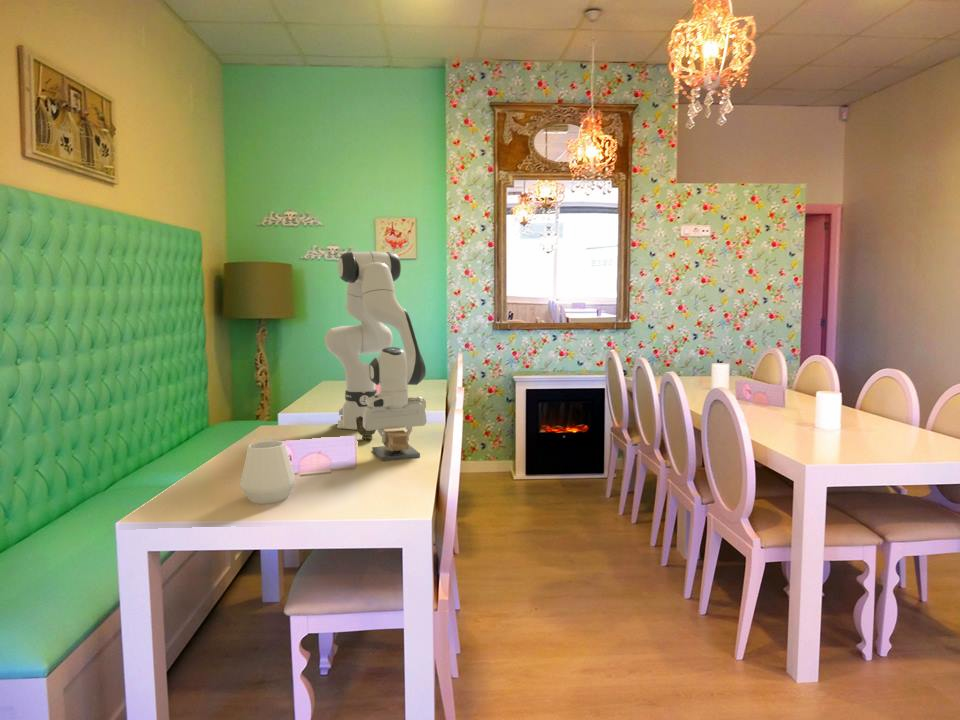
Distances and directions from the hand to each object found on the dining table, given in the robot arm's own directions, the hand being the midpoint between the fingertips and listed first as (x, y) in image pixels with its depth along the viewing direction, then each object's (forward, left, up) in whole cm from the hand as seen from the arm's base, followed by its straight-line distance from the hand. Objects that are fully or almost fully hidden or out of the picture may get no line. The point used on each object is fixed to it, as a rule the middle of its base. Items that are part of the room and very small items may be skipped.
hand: (395, 441), depth 208 cm
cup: (-24, -4, -4) cm, 25 cm away
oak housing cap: (0, 0, -2) cm, 2 cm away
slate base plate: (0, 0, -4) cm, 4 cm away
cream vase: (+30, -41, -4) cm, 51 cm away
